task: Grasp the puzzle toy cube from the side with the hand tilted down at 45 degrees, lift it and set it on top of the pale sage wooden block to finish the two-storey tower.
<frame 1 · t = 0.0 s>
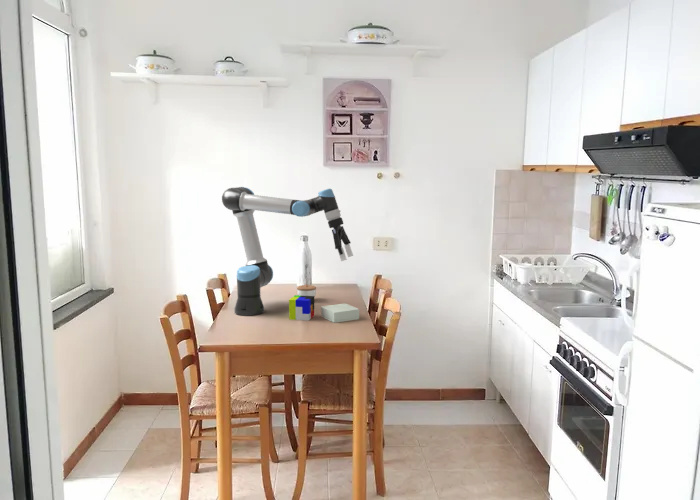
hand: (347, 258, 281), 28 cm above the table, tool tilted 20°, fingers open, 13 cm apart
pedestal: (339, 317, 273), on the table
lidded jar: (306, 300, 310), on the table
puzzle toy: (301, 317, 274), on the table
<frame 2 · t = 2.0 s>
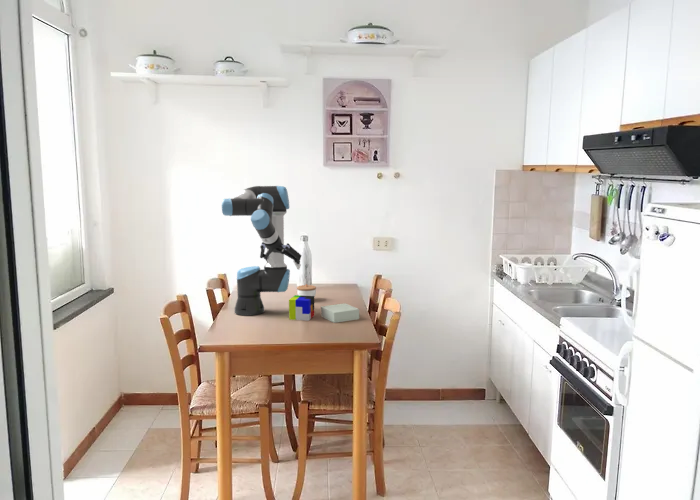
hand: (286, 266, 259), 28 cm above the table, tool tilted 45°, fingers open, 13 cm apart
nothing on the table moved.
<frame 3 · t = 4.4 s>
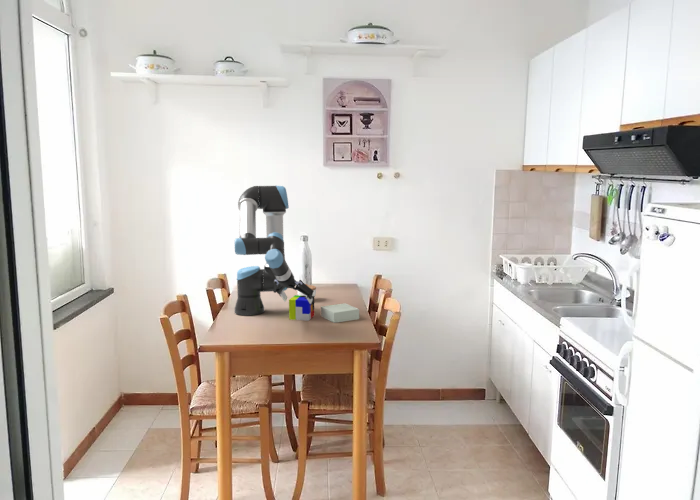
hand: (298, 300, 267), 10 cm above the table, tool tilted 45°, fingers open, 13 cm apart
nothing on the table moved.
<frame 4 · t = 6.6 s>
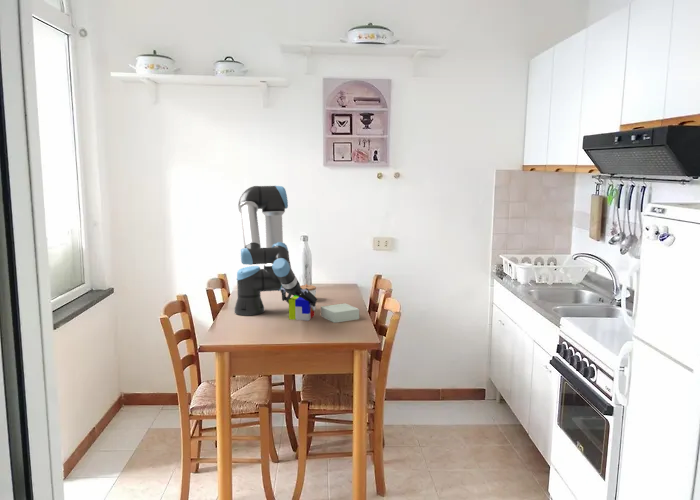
hand: (304, 307, 276), 4 cm above the table, tool tilted 45°, fingers closed on puzzle toy, 11 cm apart
puzzle toy: (301, 317, 274), on the table, touching gripper
everything else where it was.
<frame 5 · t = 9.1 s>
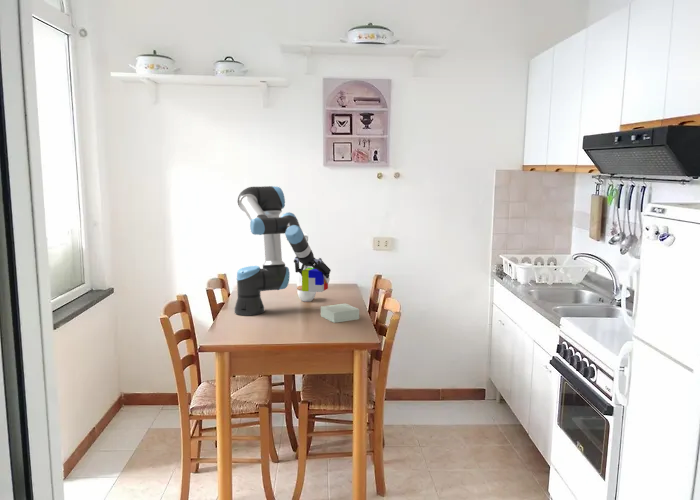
hand: (317, 280, 271), 19 cm above the table, tool tilted 45°, fingers closed on puzzle toy, 11 cm apart
puzzle toy: (315, 290, 269), point 14 cm above the table, touching gripper
everything else where it was.
when the fingers open (10 cm above the table, at t = 11.9 s): puzzle toy stays where it is, resting on pedestal.
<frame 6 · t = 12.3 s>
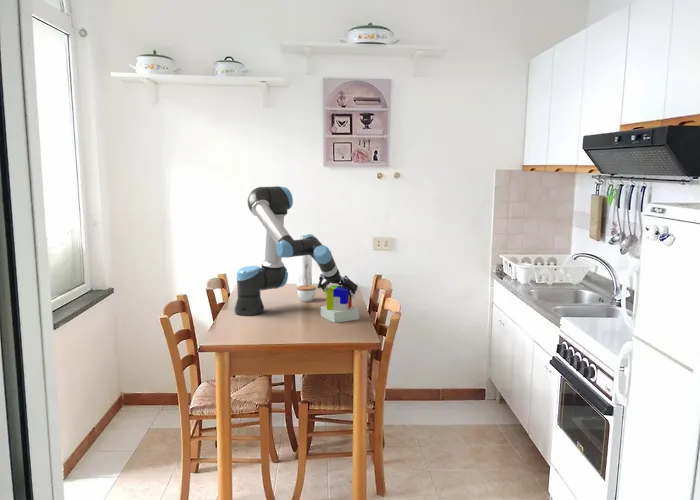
hand: (341, 295, 274), 11 cm above the table, tool tilted 45°, fingers open, 13 cm apart
puzzle toy: (339, 308, 272), point 5 cm above the table, touching pedestal
everything else where it was.
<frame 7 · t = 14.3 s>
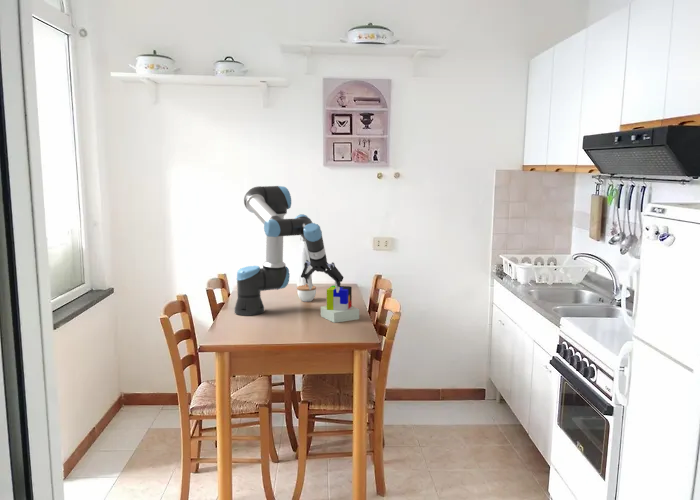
hand: (324, 289, 259), 17 cm above the table, tool tilted 30°, fingers open, 13 cm apart
nothing on the table moved.
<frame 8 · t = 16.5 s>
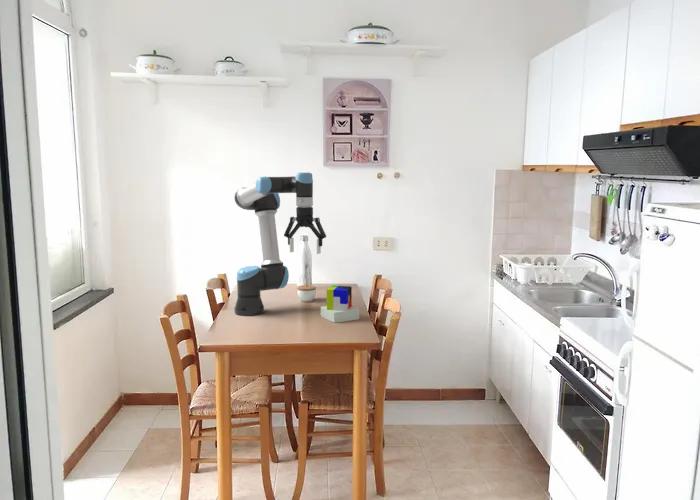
hand: (305, 252, 253), 35 cm above the table, tool pointing down, fingers open, 13 cm apart
nothing on the table moved.
at the end: puzzle toy inside the target area on the pedestal (0.2 cm from its centre), point 4.8 cm above the pedestal's base; puzzle toy tilted 0°; the gripper is holding nothing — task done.
